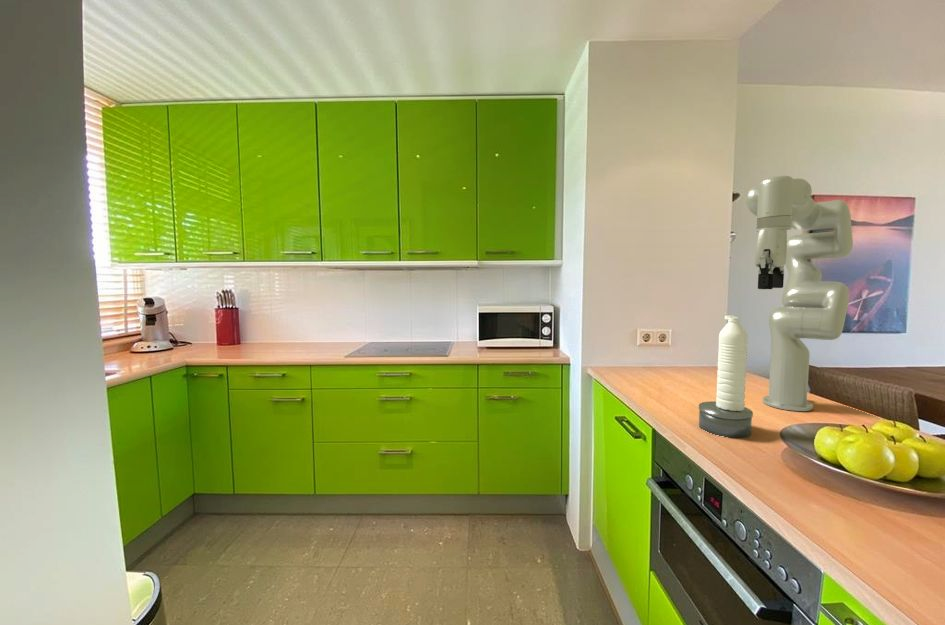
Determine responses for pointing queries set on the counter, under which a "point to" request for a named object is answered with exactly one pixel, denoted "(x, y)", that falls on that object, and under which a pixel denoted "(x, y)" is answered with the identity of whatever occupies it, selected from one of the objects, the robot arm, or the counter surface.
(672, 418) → the counter surface
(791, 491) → the counter surface
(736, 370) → the water bottle
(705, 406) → the cake tin
